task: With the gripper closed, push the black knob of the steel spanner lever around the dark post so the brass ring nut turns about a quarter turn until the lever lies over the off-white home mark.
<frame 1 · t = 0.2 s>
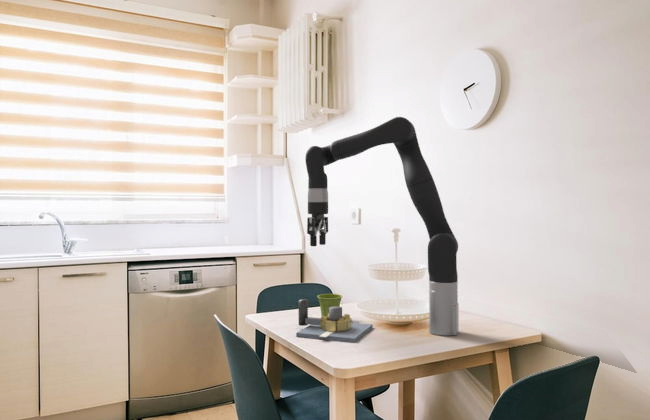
hand: (318, 245, 179), 28 cm above the table, fingers open, 8 cm apart
hub board: (335, 332, 164), on the table
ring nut: (323, 314, 166), point 6 cm above the table, hinge at 0.0°
plant pot: (329, 319, 184), on the table
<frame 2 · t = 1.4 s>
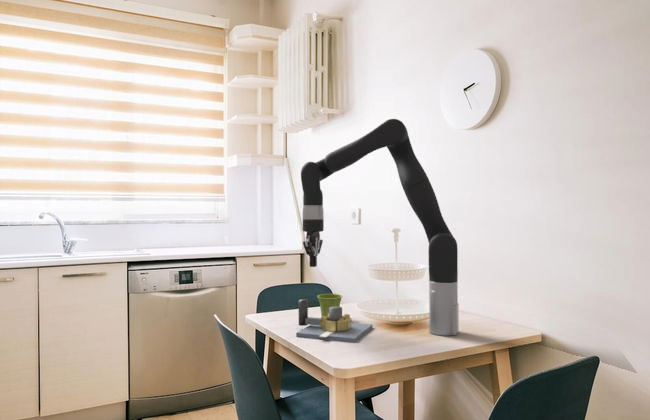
hand: (313, 266, 174), 21 cm above the table, fingers closed
nothing on the table moved.
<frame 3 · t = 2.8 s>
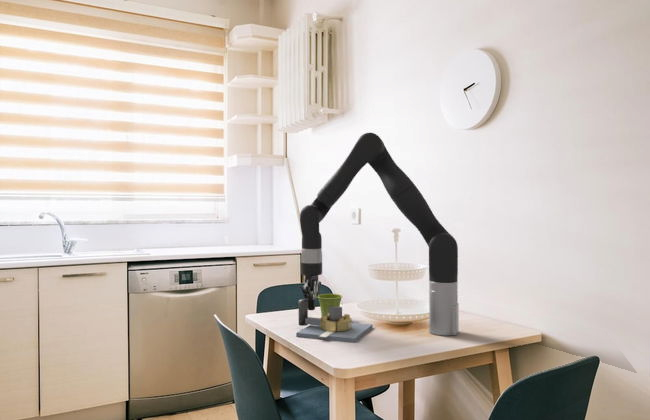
hand: (311, 309, 173), 6 cm above the table, fingers closed
nothing on the table moved.
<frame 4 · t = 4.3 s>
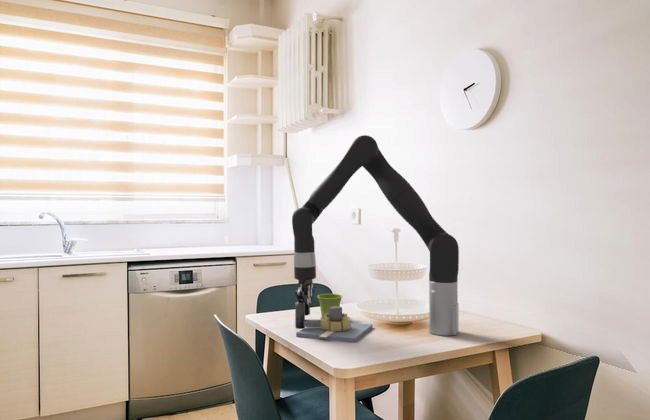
hand: (306, 314, 169), 5 cm above the table, fingers closed
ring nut: (322, 315, 164), point 6 cm above the table, hinge at 21.5°, touching hand
everything else where it was.
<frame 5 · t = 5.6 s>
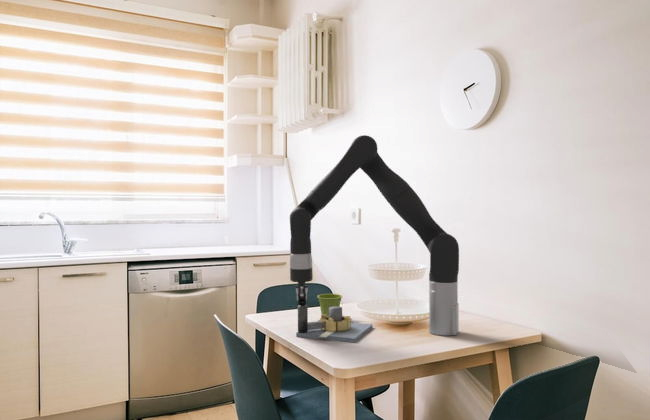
hand: (302, 317, 164), 5 cm above the table, fingers closed
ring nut: (324, 316, 162), point 6 cm above the table, hinge at 46.5°, touching hand
everything else where it was.
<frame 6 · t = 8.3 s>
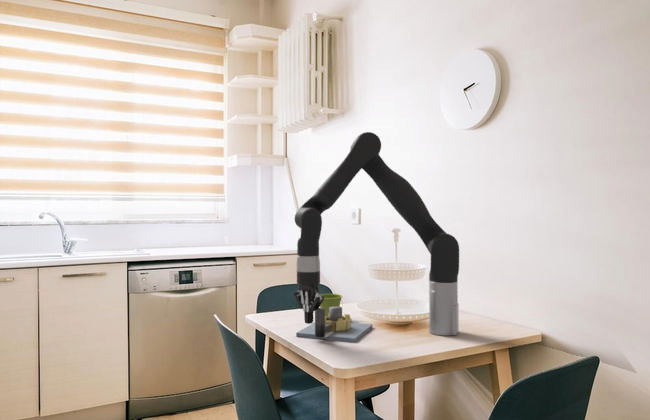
hand: (308, 322, 157), 5 cm above the table, fingers closed
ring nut: (330, 317, 160), point 6 cm above the table, hinge at 86.1°, touching hand
everything else where it was.
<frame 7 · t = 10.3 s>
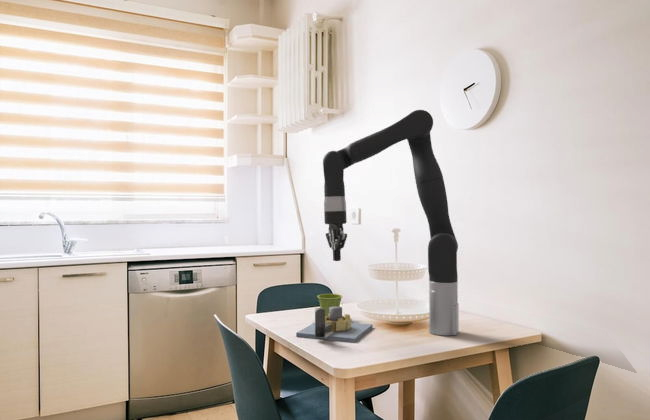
hand: (336, 260, 166), 24 cm above the table, fingers closed
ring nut: (330, 317, 160), point 6 cm above the table, hinge at 86.2°
everything else where it was.
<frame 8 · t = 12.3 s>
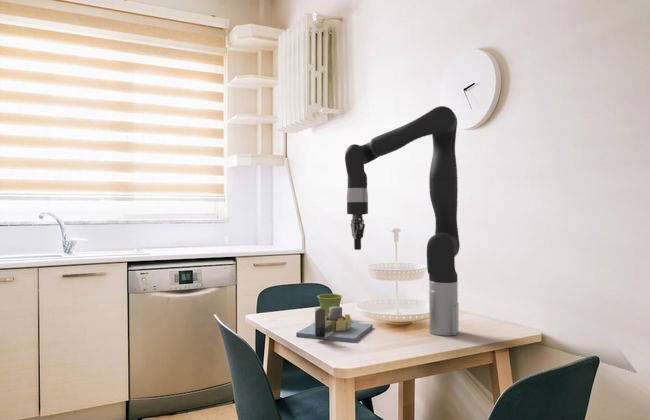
hand: (357, 249, 174), 27 cm above the table, fingers closed
nothing on the table moved.
at the end: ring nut at +86° (first picture: +0°); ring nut touching nothing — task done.
